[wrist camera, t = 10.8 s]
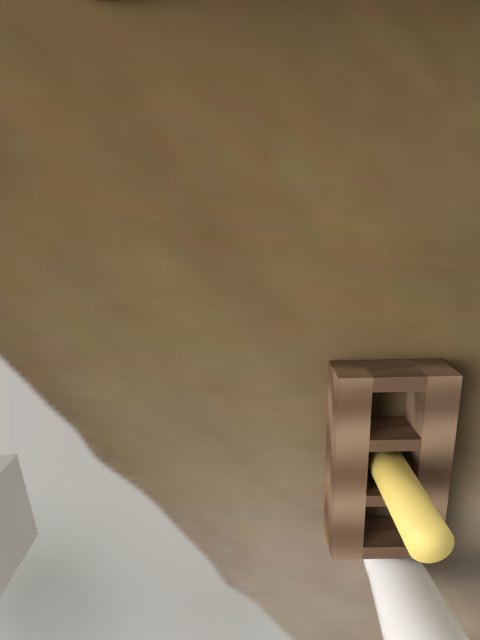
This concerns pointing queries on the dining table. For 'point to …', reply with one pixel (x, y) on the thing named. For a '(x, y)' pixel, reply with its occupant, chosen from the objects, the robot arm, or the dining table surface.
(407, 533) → the peg
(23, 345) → the dining table surface
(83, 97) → the dining table surface
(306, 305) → the dining table surface
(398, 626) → the drinking glass
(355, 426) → the hole block
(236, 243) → the dining table surface
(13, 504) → the robot arm
